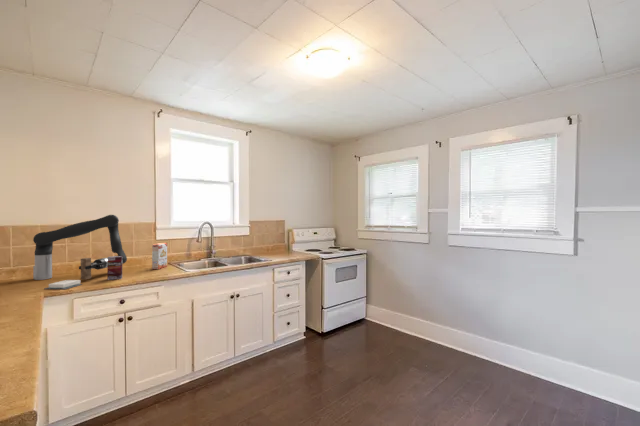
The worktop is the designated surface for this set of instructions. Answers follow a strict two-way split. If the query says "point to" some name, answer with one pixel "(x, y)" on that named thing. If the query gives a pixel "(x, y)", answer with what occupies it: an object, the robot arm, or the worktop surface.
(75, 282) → the teal book
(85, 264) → the walnut block
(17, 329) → the worktop surface
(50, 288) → the mat
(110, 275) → the supplement box
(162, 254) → the cracker box
